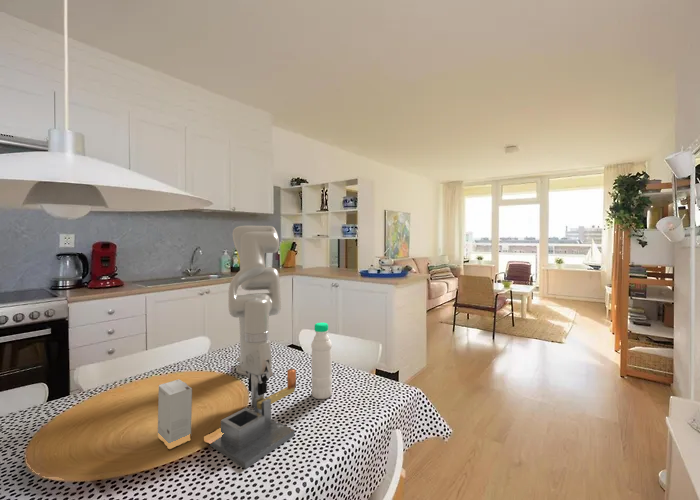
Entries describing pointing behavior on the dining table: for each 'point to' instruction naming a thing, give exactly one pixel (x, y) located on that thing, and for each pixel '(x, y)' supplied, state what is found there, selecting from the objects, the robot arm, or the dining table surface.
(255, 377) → the grey cylinder
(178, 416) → the skincare box
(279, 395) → the lock pin
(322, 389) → the water bottle
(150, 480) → the dining table surface
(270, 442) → the dock
